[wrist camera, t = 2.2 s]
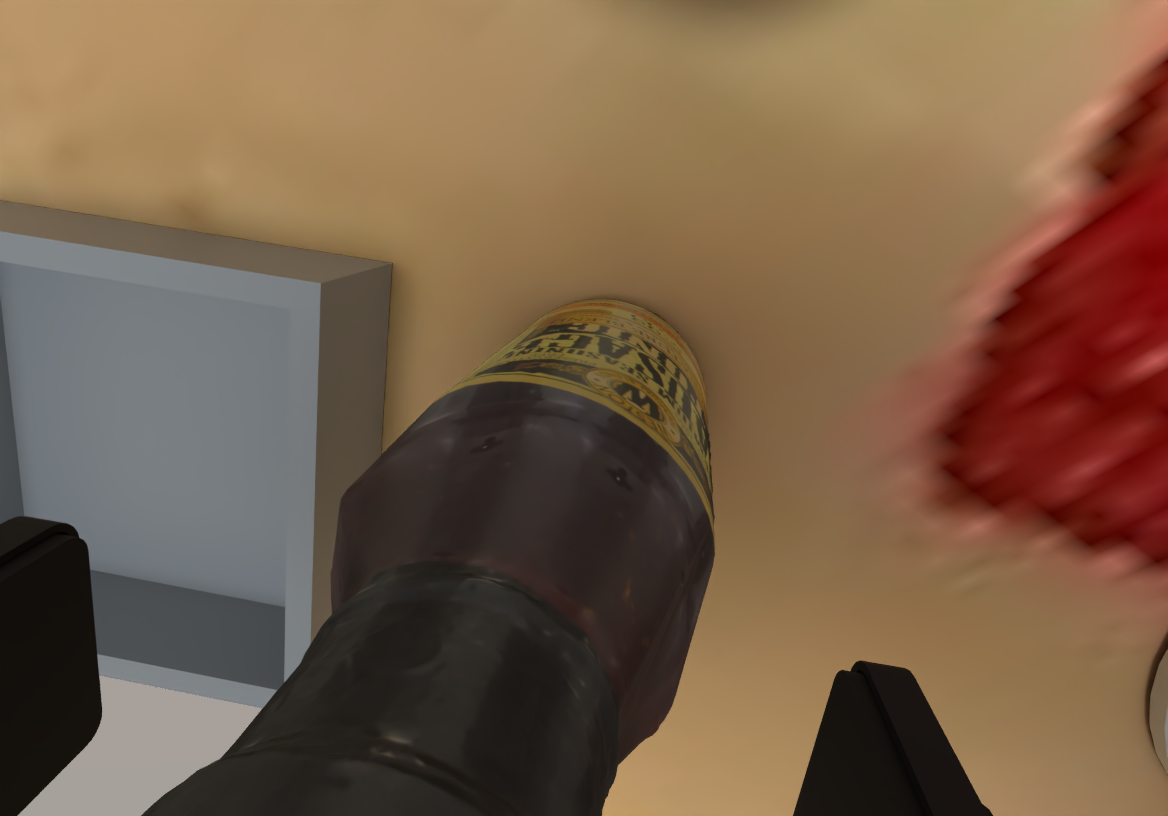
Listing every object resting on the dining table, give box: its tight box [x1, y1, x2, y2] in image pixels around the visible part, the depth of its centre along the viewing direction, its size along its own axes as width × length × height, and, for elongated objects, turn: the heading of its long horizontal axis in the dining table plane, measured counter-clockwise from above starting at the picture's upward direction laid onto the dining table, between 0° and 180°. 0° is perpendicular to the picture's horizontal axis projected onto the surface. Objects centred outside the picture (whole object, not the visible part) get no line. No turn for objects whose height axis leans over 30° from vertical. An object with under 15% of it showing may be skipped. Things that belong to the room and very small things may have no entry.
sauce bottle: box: [141, 299, 715, 816], centre depth 14 cm, size 7×6×20 cm
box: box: [0, 200, 392, 708], centre depth 23 cm, size 14×14×5 cm
